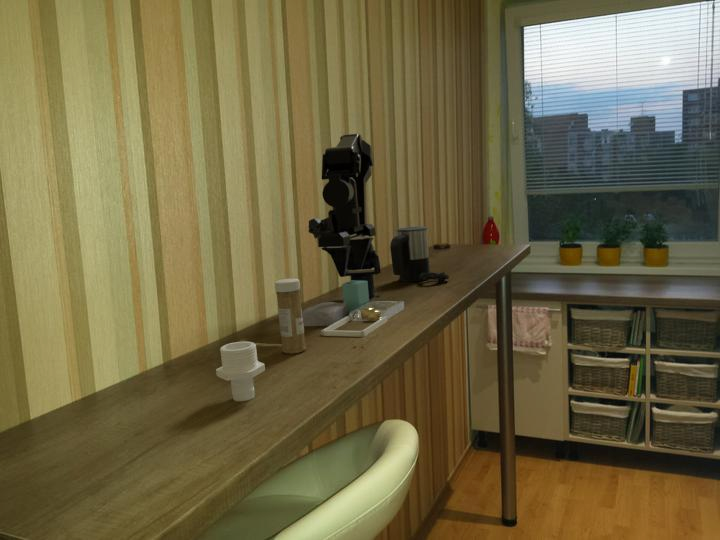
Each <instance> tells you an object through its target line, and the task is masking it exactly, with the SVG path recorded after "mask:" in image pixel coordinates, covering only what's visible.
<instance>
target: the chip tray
mask: <svg viewBox="0 0 720 540" xmlns="http://www.w3.org/2000/svg"><path fill="white" fill-rule="evenodd" d="M349 322H350V317H349V315H346V316H345V317H344V318H343V319H341V320H339V321H338V322H336V323H334V324H332V325H330V326H327V327H325V328H324V329H321V330H320V334H321V336H325V337H327V336H328V337H360V338H363V337H366V336H367V335H369V334H370V333H372V332H373V331H375V330H376V329H378V328H380V327H381V326H382V325H385V323H387V322H388V319H387V317H383V318H381V319H380V320H378V321H374V323H371V324H370V325H369V326H367V327H366V328H364V329H362V330H339V329H338V328H339V327H341V326H344V325H345V324H346V323H349ZM336 329H338V330H336Z"/></svg>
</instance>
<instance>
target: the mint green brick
mask: <svg viewBox="0 0 720 540" xmlns="http://www.w3.org/2000/svg"><path fill="white" fill-rule="evenodd" d="M341 286H342V287H341V288H342V299H343V303H344V302H346V303H347V308H348V313H350V312H352V311H354V310H355V309H357V308H359V307H361V306H363V305H365V304H366V303H368V302H370V299H369V293H368V281H356V280H352V281H351V280H350V281H346V282H343V283H341Z"/></svg>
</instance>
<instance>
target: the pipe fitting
mask: <svg viewBox="0 0 720 540" xmlns="http://www.w3.org/2000/svg"><path fill="white" fill-rule="evenodd" d="M219 351H220V356H221V357H220V359H221V365H222V366H220V367H218V368H216V369H215V372H216V377H218V378H220V379H222V380H224V381H230V386H231V394H232V398H233V400H234V401H235V402H247V401H249V400H252V399H254V398H255V387H254V377H256V376H258V375H259V374H262V373H263V372H265V371H266V366H265V363H263V362H261V361H259V360H258V353H257V352H258V351H257V345H256V344H255V342H252V341H237V342H235V341H233V342H231V343H227V344H224V345H222V346H221V347H220V349H219Z"/></svg>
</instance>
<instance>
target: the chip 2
mask: <svg viewBox="0 0 720 540" xmlns="http://www.w3.org/2000/svg"><path fill="white" fill-rule="evenodd" d="M380 313H381V310H379V309H373V310H368V311H367V320H369V321H368V322H377V321H376V320H380V319H381V315H380Z"/></svg>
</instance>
